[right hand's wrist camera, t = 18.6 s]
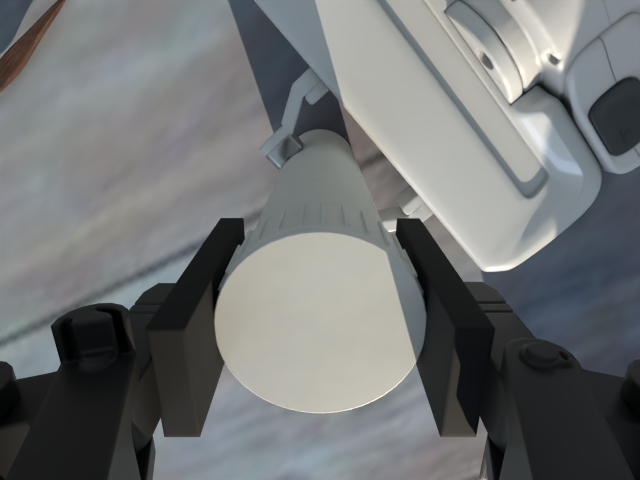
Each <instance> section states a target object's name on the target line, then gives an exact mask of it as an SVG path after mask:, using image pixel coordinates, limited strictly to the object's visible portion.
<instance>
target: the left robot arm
mask: <svg viewBox="0 0 640 480" xmlns="http://www.w3.org/2000/svg"><path fill="white" fill-rule="evenodd" d="M254 1H255V2H256V3H257V5H258V6H259V7H260V8H261V9H262V11H263V12H264V13H265V14H266V15H267V17H268V18H269V19H270V20H271V21H272V22H273V24H274V25H275V26H276V27H277V28H278V30H279V31H280V32H281V33H282V34H283V36H284V37H285V38H286V39H287V40H288V41H289V42H290V43H291V44H292V46H293V47H294V48H295V49H296V50H297V52H298V53H299V54H300V55H301V56H302V58H303V59H304V60H305V61H306V62H307V63H308V65H309V66H310V67H309V68H308V69H307V70H306V71H305V72H304V73H303V74H302V75H301V76H300V77H299V78H298V79H297V80H296V81H295V82H294V83H293V84H292V87H291V91H290V94H289V98H288V101H287V105H286V108H285V112H284V115H283V119H282V122H281V124H282V126H281V127H280V128H279V129H278V130H277V131H276V132H275V133H274V134H273V135H272V136H271V137H270V138H269V139H267V141H266V142H265V143H264V144H263V145H262V146H261V147H260V148H259V150H260V151H261V152H262V154H263V155H264V156H265V157H266V158H267V159H268V160H269V161H270V162H271V163H272V164H273V165H274V166H275V167H276V168H277V169H280V168H281V167H282V166H283V165H284V164H285V163H286V162H287V160H288V157H292V156H294V155H295V154H296V153H297V152H298V151H300V150H301V149H302V147H303V146H302V145H303V142H302V141H301V140H300V138H299V137H298V136H297V135H296V134H295V133H294V129H295V126H296V122H297V119H298V116H299V113H300V109H301V106H302V103H303V99H304V96H306V100H307V101H308V102H309V104H310V105H314V104H315V103H316V102H317V101H318V100H319V99H320V98H321V97H323V96H324V95H325V94H326V93H327V92H328V91H329V90H330V91H331V92H332V93H333V94H334V95H335V97H336V98H337V99H338V100H339V101H340V103H341V104H342V105H343V106H344V107H345V108H346V110H347V111H348V112H349V113H350V114H351V116H352V117H353V118H354V119H355V120H356V122H357V123H358V124H359V125H360V126H361V127H362V129H363V130H364V131H365V132H366V133H367V135H368V136H369V137H370V138H371V139H372V140H373V142H374V143H375V144H376V145H377V146H378V148H379V149H380V150H381V151H382V152H383V154H384V155H385V156H386V157H387V158H388V159H389V161H390V162H391V163H392V164H393V165H394V167H395V168H396V169H397V170H398V171H399V172H400V174H401V175H402V176H403V177H404V178H405V180H406V181H407V182H408V183H409V184H410V186H408V187H407V188H406V189H405V190H404V191H403V192H401V193H400V194H399V195H398V196H397V197H396V201H397V202H398V204H399V205H400V206H398V207H393V208H389V209H384V210H380V211H378V214H379V216H380V219H381V221H382V223H383V225H384V228H385V229H386V230H387V231H388V232H391V231H396V224H397V218H420V220H421V221H422V222H424V221H425V220H426V219H427V218H429V217H430V216H431V215H433V214H435V215H436V216H437V218H438V219H439V220H440V221H441V222H442V223H443V225H444V226H445V227H446V228H447V230H448V231H449V232H450V233H451V235H452V236H453V237H454V238H455V239H456V240H457V242H458V243H459V244H460V245H461V246H462V248H463V249H464V250H465V251H466V252H467V253H468V255H469V256H470V257H471V258H472V259H473V261H474V262H475V263H476V264H477V265H478V266H479V267H480V268H481V270H483V271H485V272H496V271H507V270H510V269H512V268H514V267H516V266H517V265H519V264H520V263H522V262H524V261H525V260H526V259H528V258H529V257H531V256H532V255H533V254H535V253H536V252H538V251H539V250H540V249H541V248H543V247H544V246H545V245H547V244H548V243H549V242H551V241H552V240H553V239H554V238H556V237H557V236H558V235H559V234H561V233H562V232H563V231H564V230H565V229H567V228H568V227H569V226H570V225H571V224H572V223H574V222H575V221H576V220H577V219H578V218H579V217H580V216H581V215H582V214H583V213H584V212H585V211H586V210H587V209H588V208H589V207H590V206H591V204H592V203H593V202H594V200H595V198H596V197H597V195H598V193H599V190H600V187H601V181H602V174H601V171H605V172H610V173H615V174H625V173H628V172H630V171H632V170H633V169H635V168H637V167H638V166H640V0H254Z"/></svg>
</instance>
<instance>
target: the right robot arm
mask: <svg viewBox="0 0 640 480" xmlns="http://www.w3.org/2000/svg"><path fill="white" fill-rule="evenodd" d="M396 237H397V239H398V241H399V243H400V245H401V248H402V250H403V249H405V251H406V253H407V255H408V257H409V259H410V261H411V263H412V265H413V267H414V269H415V271H416V273H417V275H418V277H417V279H418V281H419V283H420V286H421V288H422V290H423V292H424V293H423V298H424V301H425V307H426V312H427V317H426V328H425V337H424V344H423V348H422V350H421V353H420V355H419V357H418V359H417V361H416V365H417V368H418V371H419V374H420V377H421V380H422V383H423V386H424V389H425V392H426V395H427V398H428V401H429V404H430V407H431V410H432V413H433V416H434V419H435V422H436V425H437V428H438V431H439V434H440V437H476V433H477V428H478V422H479V417H481V419H482V422H483V424H484V426H485V428H486V430H487V432H488V435H487V440H486V445H485V450H484V455H483V461H482V466H481V471H480V478H479V479H481V480H485V478H486V473H487V478H488V480H640V360H635V361H633V362H632V363H630V364H629V365H628V368H627V371H626V374H625V377H624V378H622V377H617V376H612V375H607V374H602V373H597V372H592V371H588V370H584V369H582V368H581V366H580V364H579V362H578V361H577V360H576V359H575V357H574V356H573V355H572V354H571V353H569V352H568V351H566V350H565V349H564V348H562V347H560V346H558V345H556V344H553V343H551V342H549V341H545V340H541V339H536V338H535V337H534V336H533V335H532V333H531V332H530V331H529V330H528V328H527V327H526V326H525V325H524V324H523V322H522V321H521V320H520V319H519V317H518V316H517V315H516V314H515V313H513V310H512V309H511V308H510V306H509V305H508V304H506V301H505V300H504V299H503V298H502V297H501V295H500V294H499V293H498V292H497V291H496V290H494V289H493V288H491V287H490V286H488V285H486V284H485V283H483V282H463V281H462V279H461V278H460V276H459V275H458V273H457V272H456V271H455V269H454V268H453V266H452V265H451V263H450V262H449V260H448V259H447V257H446V256H445V255H444V253H443V252H442V250H441V249H440V247H439V246H438V244H437V243H436V242H435V240H434V239H433V237H432V236H431V234H430V233H429V231H428V230H427V228H426V227H425V226H424V224H423V223H422V221H421V220H420V218H397V224H396ZM244 240H245V234H244V220H243V218H221V219H220V220H219V222H218V223H217V224H216V226H215V227H214V229H213V230H212V232H211V233H210V235H209V236H208V238H207V239H206V240H205V242H204V243H203V245H202V246H201V248H200V249H199V251H198V252H197V254H196V255H195V256H194V258H193V259H192V261H191V262H190V264H189V265H188V267H187V268H186V269H185V271H184V272H183V274H182V275H181V277H180V278H179V280H178V281H177V283H158V284H156V285H155V286H153V287H152V288H150V289H148V290H147V291H145V292H143V294H142V295H141V296H140V297H139V299H138V300H137V301H136V302H135V305H133V306H132V307H131V309H130V310H129V311H128V309H127V308H125V307H124V306H123V305H119V304H114V303H98V304H93V305H88V306H84V307H81V308H78V309H75V310H73V311H70V312H68V313H66V314H65V315H63V316H61V317H60V318H58V319H57V320H56V321H55V322H54V323H53V324H52V325H51V329H52V333H53V337H54V340H55V344H56V347H57V351H58V355H59V358H60V362H61V365H60V367H59V369H58V371H56V372H52V373H48V374H43V375H38V376H33V377H28V378H23V379H18V380H17V379H16V376H15V373H14V370H13V367H12V366H11V365H9V364H8V363H7V362H2V361H0V480H152V479H153V470H154V462H155V453H156V452H155V446H154V440H153V433H154V431H155V429H156V426H157V424H158V422H159V420H160V418H161V421H162V426H163V432H164V437H200V435H201V432H202V429H203V426H204V423H205V420H206V417H207V414H208V411H209V408H210V405H211V402H212V399H213V396H214V393H215V390H216V387H217V383H218V380H219V377H220V374H221V371H222V368H223V365H224V362H225V361H224V360H223V358H222V356H221V353H220V351H219V348H218V346H217V342H216V334H215V324H214V310H215V305H216V301H217V297H218V295H219V292H220V291H218V287H219V285H220V283H221V281H222V279H223V277H224V274H225V271H226V269H227V267H228V265H229V263H230V261H231V259H232V256H233V254H234V252H235V250H236V248H237V246H238V245H240V246H241V245H242V244H243V242H244Z"/></svg>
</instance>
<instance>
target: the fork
mask: <svg viewBox="0 0 640 480" xmlns="http://www.w3.org/2000/svg"><path fill="white" fill-rule="evenodd" d="M64 2H65V0H58V1H57V2H56V3H55V4H54V5H53V6H52V7H51V8H50V9H49V10H48V11H47V12H46V13H45V14H44V15H43V16H42V17H41V18H40V19H39V20H38V21H37V22H36V23H35V24H34V25H33V26H32V27H31V28H30V29H29V30H28V31H27V32H26V33H25V34H24V35H23V36H22V37H21V38H20V39H19V40H18V41H17V42H16V43H15V44H14V45H13V46H12V47H11V48H10V49H9V50H8V51H7V52H6V53H5V54H4V55H3V56H2V58H1V59H0V92H1V91H2V90H3V89H4V88H5V87H6V86H8V85H9V84H10V83H11V82H12V81H13V80H14V79H15V78H16V77H17V75H18V74H19V73H20V72H21V70H22V69H23V68H24V66H25V65H26V63H27V61H28V60H29V58H30V56H31V55H32V53H33V51H34V50H35V48H36V46H37V45H38V43H39V41H40V40H41V38H42V37H43V35H44V34H45V32H46V31H47V29H48V28H49V26H50V25H51V23H52V22H53V20H54V18H55V17H56V15H57V14H58V12H59V11H60V9H61V7H62V6H63V4H64Z"/></svg>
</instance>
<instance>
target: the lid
mask: <svg viewBox="0 0 640 480" xmlns="http://www.w3.org/2000/svg"><path fill="white" fill-rule="evenodd" d="M417 277H418V275H417V273H416V271H415V269H414V267H413V265H412V263H411V261H410V259H409V257H408V255H407V253H406V251H405V249H403V250H402V248H401V245H400V243H399V241H398V239H397V237H396V235H395V234H392V235H391V234H390V233H389V232H388V231H387V230H386V229H385V228H384V225H383V223H382V222H381V221H380V220H379V221H378V222H377V221H376V220H374V219H372V218H371V217H369V216H367V215H366V213H365V211H363V210H362V211H361V212H359V211H356V210H354V209H351V208H347V207H346V205H345V204H342V206H339V205H332V204H325V202H321V204H309V205H304V203H300V206H297V207H293V208H290V209H287V210H285V209H284V208H283V209H280V212H279V213H277V214H275V215H274V216H272V217H270V218H268V219H267V218H266V217H265V218H264V219H263V220H262V222H261V224H260V225H259V226H257V227H256V228H255V229H254V230H253V231H251V230H249V232H248V233H247V235H246V238H245V240H244V242H243V244H242V245H241V246H240V245H238V246H237V248H236V250H235V252H234V254H233V256H232V259H231V261H230V263H229V265H228V267H227V269H226V271H225V274H224V277H223V279H222V281H221V283H220V285H219V287H218V291H220V292H219V295H218V297H217V301H216V305H215V310H214V324H215V334H216V342H217V346H218V348H219V351H220V353H221V356H222V358H223V360H224V361H225V363H226V365H227V367H228V368H229V369H230V371H231V372H232V373H233V375H234V376H235V377H236V378H237V379H238V380H239V381H240V382H241V383H242V384H243V385H244V386H245V387H247V388H248V389H249V390H250V391H252V392H253V393H254V394H256V395H258V396H259V397H261V398H263V399H264V400H267V401H269V402H271V403H273V404H275V405H278V406H281V407H284V408H287V409H291V410H296V411H301V412H310V413H331V412H340V411H345V410H350V409H353V408H357V407H360V406H363V405H365V404H368V403H370V402H372V401H374V400H376V399H378V398H380V397H381V396H383V395H385V394H386V393H388V392H389V391H390V390H392V389H393V388H394V387H396V386H397V385H398V384H399V383H400V382H401V381H402V380H403V379H404V378H405V377H406V375H407V374H408V373H409V372H410V371H411V369H412V368H413V366H414V364H415V363H416V361H417V359H418V357H419V355H420V353H421V350H422V348H423V344H424V337H425V328H426V317H427V312H426V307H425V301H424V298H423V293H424V292H423V290H422V288H421V286H420V283H419V281H418V279H417Z"/></svg>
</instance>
